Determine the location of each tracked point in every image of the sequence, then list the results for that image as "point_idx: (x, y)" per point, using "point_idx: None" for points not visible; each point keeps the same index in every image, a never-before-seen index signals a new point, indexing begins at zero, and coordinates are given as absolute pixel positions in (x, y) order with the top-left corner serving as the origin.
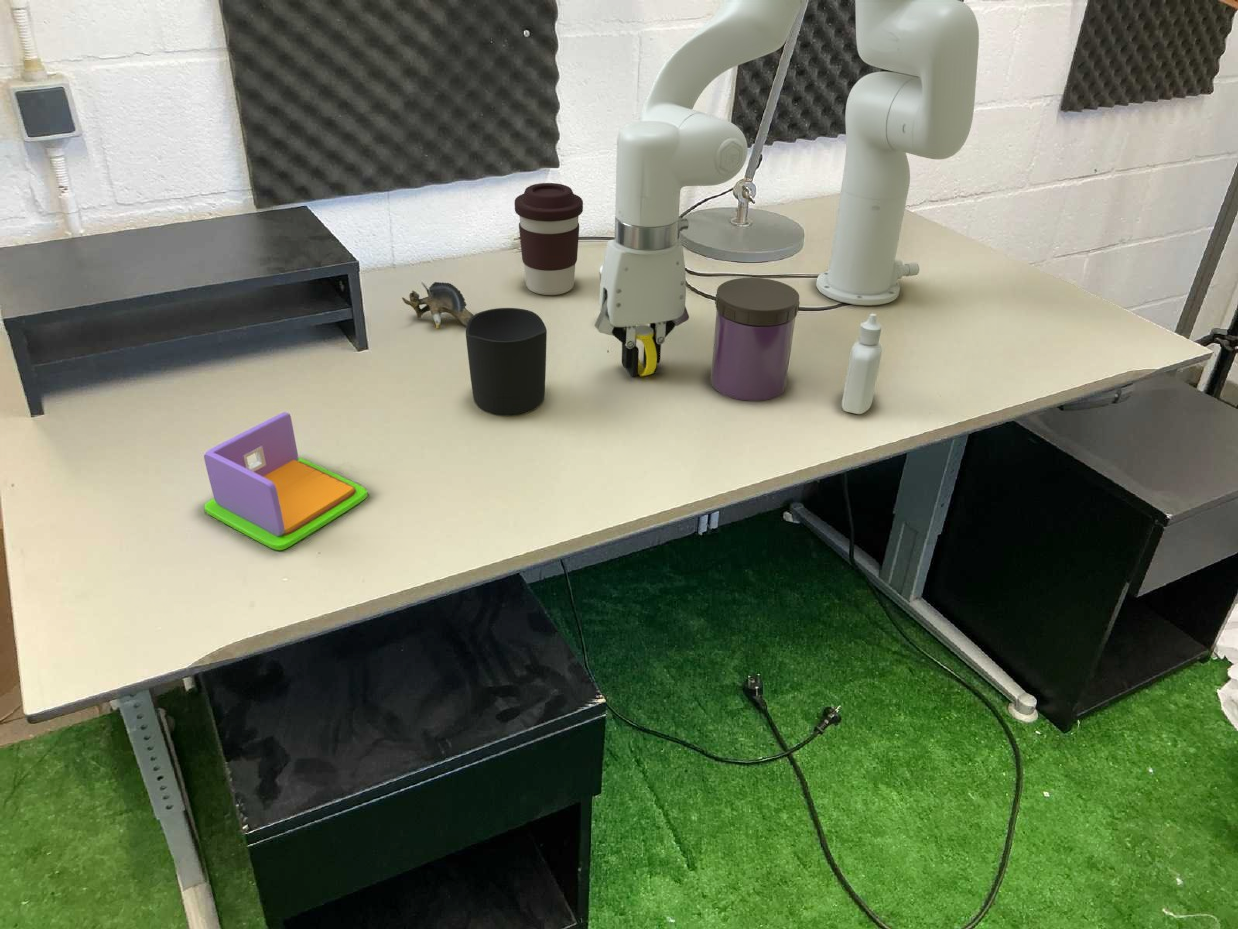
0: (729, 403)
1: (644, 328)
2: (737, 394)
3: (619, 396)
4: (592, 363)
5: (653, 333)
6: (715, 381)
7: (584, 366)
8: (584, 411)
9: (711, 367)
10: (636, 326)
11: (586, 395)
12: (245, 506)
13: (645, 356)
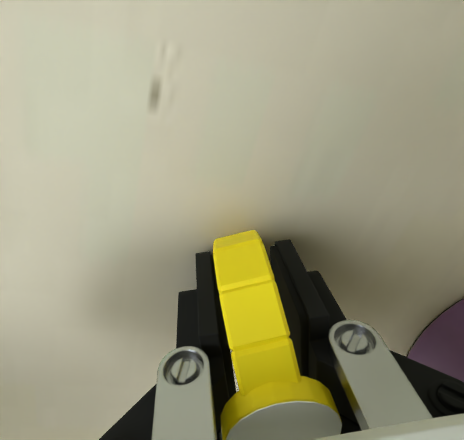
0: None
1: (301, 423)
2: None
3: (147, 386)
4: (73, 195)
5: (339, 390)
6: None
7: (38, 215)
8: (44, 435)
9: (444, 372)
10: (264, 412)
11: (49, 378)
12: None
13: (278, 282)
